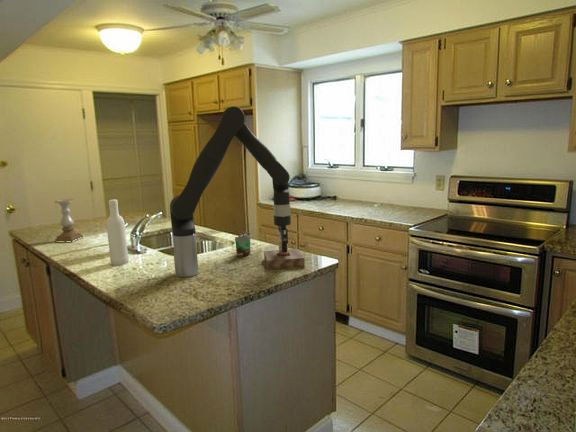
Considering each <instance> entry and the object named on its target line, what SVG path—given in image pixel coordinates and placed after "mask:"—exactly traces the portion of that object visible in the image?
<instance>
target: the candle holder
mask: <svg viewBox="0 0 576 432" xmlns="http://www.w3.org/2000/svg"><path fill="white" fill-rule="evenodd" d="M73 202H75V199H74V198H67V199H63V198H62V199H58V200H57V199H56V200H54V202H53V203H54V204H59V206H60V208H61V210H60V213H61V214H62V218H61V220H60V222H59V224H60V226H61V227H62V228H61V231H63V232H61V234H59V235H57V236H56V238H55V239H54V242H55V241H73V240H75V239H78V238H80V237H83V238H84V235H83V234H81V233H82V232H76V231H74V229H75V227H74V226H73V225H74V224H75V221H74V218H72V216H71V215H70V213H71V209H70V208H69V206H70V204H71V203H73Z"/></svg>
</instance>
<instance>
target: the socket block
mask: <svg viewBox="0 0 576 432" xmlns="http://www.w3.org/2000/svg"><path fill="white" fill-rule="evenodd" d="M263 257H264V263H265V265H266V267H267V268H266V269H267V270H270V271H271V270H281V269H282V270H283V269H295V268H305V257H304V255H303V254H302V252H301V251H300V249H299V248H288V256H279V249H274V250H264V251H263Z"/></svg>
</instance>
